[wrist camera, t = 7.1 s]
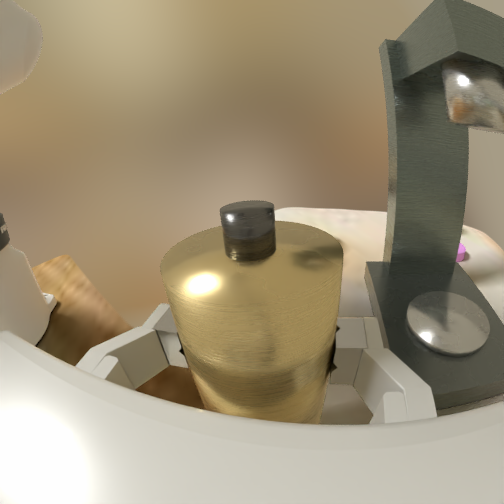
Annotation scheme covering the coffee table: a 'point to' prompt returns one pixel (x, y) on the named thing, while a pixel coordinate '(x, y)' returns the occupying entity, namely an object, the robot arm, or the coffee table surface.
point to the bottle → (257, 312)
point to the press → (438, 200)
